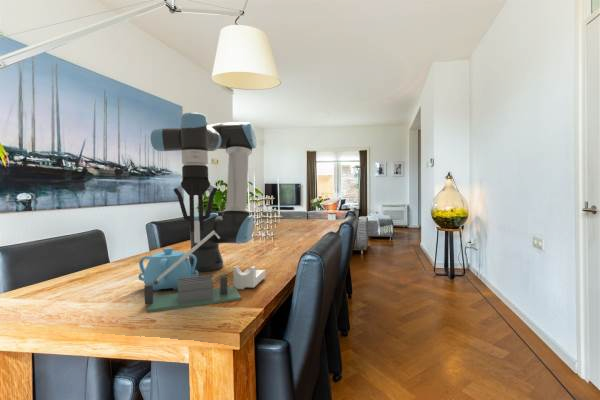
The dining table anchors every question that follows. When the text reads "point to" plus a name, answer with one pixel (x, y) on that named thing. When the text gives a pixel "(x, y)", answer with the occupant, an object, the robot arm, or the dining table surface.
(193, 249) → the strap
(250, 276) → the bracket
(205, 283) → the heatsink board
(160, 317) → the dining table surface
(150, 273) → the decorative pot
